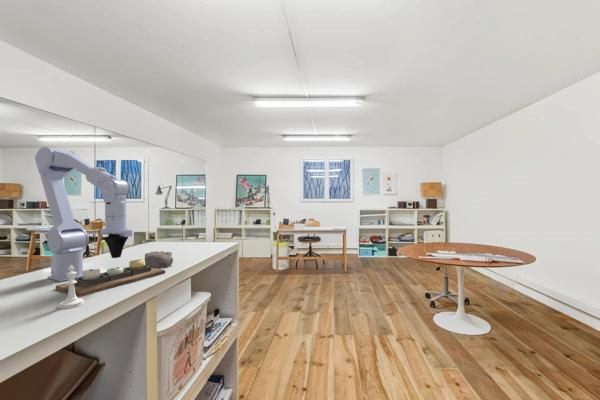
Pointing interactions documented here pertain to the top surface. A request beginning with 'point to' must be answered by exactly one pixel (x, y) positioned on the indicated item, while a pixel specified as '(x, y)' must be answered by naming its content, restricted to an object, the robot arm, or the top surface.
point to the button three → (136, 264)
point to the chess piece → (71, 292)
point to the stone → (158, 259)
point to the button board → (110, 280)
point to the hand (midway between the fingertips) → (116, 257)
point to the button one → (90, 274)
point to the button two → (115, 270)
